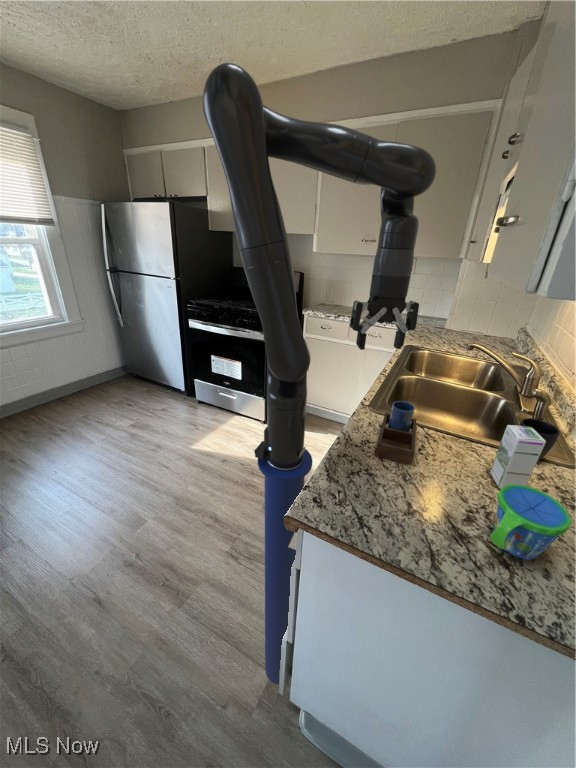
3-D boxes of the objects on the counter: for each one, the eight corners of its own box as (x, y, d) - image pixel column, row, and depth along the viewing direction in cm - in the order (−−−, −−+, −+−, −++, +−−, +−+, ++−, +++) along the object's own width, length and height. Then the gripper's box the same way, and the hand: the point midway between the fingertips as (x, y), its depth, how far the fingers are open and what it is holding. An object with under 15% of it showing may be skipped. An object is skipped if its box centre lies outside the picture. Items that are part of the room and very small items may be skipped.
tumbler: (386, 435, 91) (391, 408, 87) (388, 425, 96) (393, 399, 92) (408, 440, 89) (414, 413, 85) (409, 429, 94) (415, 403, 90)
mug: (489, 443, 90) (500, 415, 86) (534, 448, 89) (547, 419, 85) (503, 462, 83) (515, 432, 79) (552, 467, 81) (567, 437, 77)
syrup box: (524, 492, 73) (548, 441, 67) (497, 488, 74) (518, 437, 67) (512, 475, 78) (534, 426, 72) (487, 472, 79) (506, 423, 72)
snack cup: (510, 582, 53) (532, 541, 49) (461, 531, 62) (476, 493, 58) (571, 556, 58) (596, 516, 54) (517, 512, 67) (535, 476, 63)
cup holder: (375, 456, 83) (377, 443, 82) (382, 423, 98) (385, 412, 96) (411, 465, 80) (414, 452, 79) (413, 430, 95) (416, 418, 93)
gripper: (414, 271, 68) (400, 342, 75) (352, 269, 66) (343, 343, 73) (434, 275, 61) (416, 353, 68) (364, 274, 59) (354, 354, 66)
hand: (379, 348), depth 71 cm, fingers open, 8 cm apart
